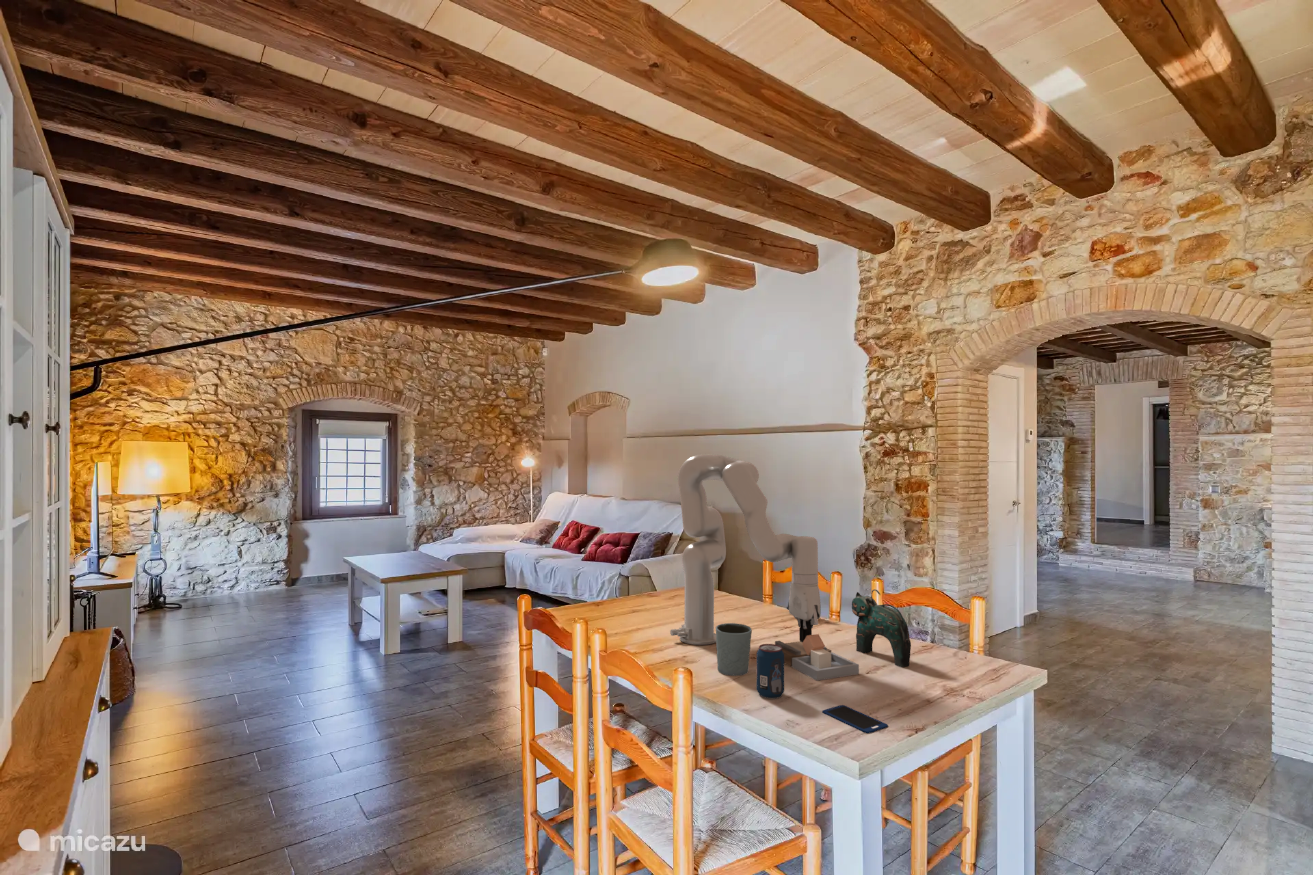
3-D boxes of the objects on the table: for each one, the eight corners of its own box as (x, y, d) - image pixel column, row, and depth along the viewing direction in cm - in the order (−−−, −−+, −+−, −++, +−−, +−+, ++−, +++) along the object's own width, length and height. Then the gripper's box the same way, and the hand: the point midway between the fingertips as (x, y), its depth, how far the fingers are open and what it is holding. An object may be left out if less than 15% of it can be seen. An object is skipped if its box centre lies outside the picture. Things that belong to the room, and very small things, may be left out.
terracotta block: (808, 655, 190) (813, 647, 188) (801, 643, 193) (807, 635, 191) (819, 654, 192) (825, 645, 189) (813, 642, 194) (818, 634, 192)
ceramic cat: (849, 649, 205) (849, 585, 205) (865, 646, 208) (865, 583, 208) (900, 669, 187) (900, 598, 187) (916, 665, 190) (916, 596, 190)
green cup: (730, 662, 192) (731, 620, 192) (759, 670, 185) (759, 627, 185) (707, 670, 185) (708, 627, 185) (736, 679, 178) (736, 635, 178)
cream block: (810, 664, 188) (819, 668, 185) (810, 650, 188) (819, 654, 185) (822, 662, 190) (831, 667, 186) (822, 648, 190) (831, 652, 186)
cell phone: (867, 735, 145) (867, 732, 145) (820, 713, 157) (820, 710, 157) (889, 728, 149) (889, 724, 149) (842, 707, 161) (842, 703, 161)
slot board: (791, 666, 189) (791, 652, 189) (770, 655, 199) (770, 641, 199) (831, 660, 194) (831, 646, 194) (809, 649, 204) (809, 636, 204)
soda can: (765, 687, 172) (765, 641, 173) (789, 693, 168) (789, 646, 168) (751, 695, 167) (751, 647, 167) (775, 702, 163) (775, 653, 163)
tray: (816, 680, 178) (816, 670, 178) (792, 667, 188) (792, 657, 188) (858, 673, 183) (858, 664, 183) (832, 661, 194) (832, 652, 194)
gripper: (779, 575, 201) (780, 636, 200) (809, 584, 187) (810, 649, 186) (800, 573, 203) (801, 633, 203) (831, 582, 190) (832, 646, 189)
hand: (805, 641), depth 195 cm, fingers closed
